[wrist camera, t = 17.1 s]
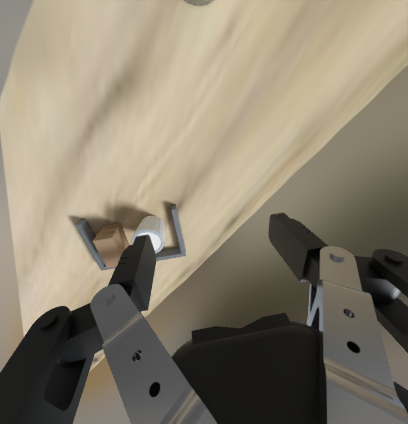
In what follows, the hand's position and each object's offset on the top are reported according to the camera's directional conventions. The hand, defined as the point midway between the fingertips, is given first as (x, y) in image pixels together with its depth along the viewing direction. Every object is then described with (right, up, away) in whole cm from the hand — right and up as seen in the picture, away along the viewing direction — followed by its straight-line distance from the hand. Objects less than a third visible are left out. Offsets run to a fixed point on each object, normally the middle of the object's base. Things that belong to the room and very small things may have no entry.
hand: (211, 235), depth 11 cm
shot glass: (-13, -2, +31) cm, 34 cm away
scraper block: (-22, -5, +32) cm, 39 cm away
